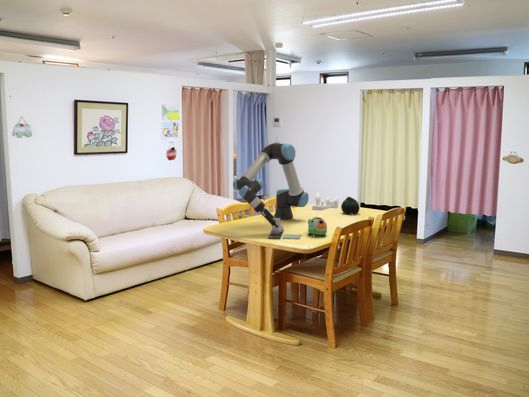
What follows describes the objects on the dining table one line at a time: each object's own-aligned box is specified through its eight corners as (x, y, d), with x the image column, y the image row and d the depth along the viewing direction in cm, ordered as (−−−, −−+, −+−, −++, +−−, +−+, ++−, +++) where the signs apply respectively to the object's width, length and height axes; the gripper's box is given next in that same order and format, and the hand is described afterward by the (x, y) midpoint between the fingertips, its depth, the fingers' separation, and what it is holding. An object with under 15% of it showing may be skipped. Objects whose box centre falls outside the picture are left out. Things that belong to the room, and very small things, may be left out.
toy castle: (311, 209, 427) (311, 191, 425) (325, 206, 447) (325, 188, 445) (325, 211, 419) (326, 193, 416) (339, 207, 439) (340, 189, 436)
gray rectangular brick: (272, 235, 329) (272, 219, 327) (272, 233, 334) (273, 217, 332) (279, 235, 328) (279, 219, 327) (280, 234, 333) (280, 218, 331)
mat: (283, 238, 319) (283, 237, 319) (284, 234, 330) (284, 234, 330) (299, 239, 318) (299, 238, 318) (300, 235, 329) (300, 234, 329)
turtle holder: (317, 231, 343) (317, 214, 341) (330, 236, 326) (331, 219, 324) (301, 232, 338) (301, 215, 336) (314, 238, 321) (314, 220, 319)
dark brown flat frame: (272, 230, 344) (272, 228, 344) (283, 230, 343) (283, 229, 343) (268, 238, 319) (268, 237, 319) (280, 239, 318) (280, 237, 318)
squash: (359, 209, 398) (359, 194, 406) (341, 209, 400) (341, 194, 408) (359, 218, 409) (359, 203, 417) (341, 218, 412) (341, 203, 420)
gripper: (255, 206, 339) (279, 230, 340) (251, 211, 321) (276, 236, 322) (263, 199, 338) (286, 223, 338) (259, 203, 320) (284, 228, 320)
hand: (281, 229), depth 330 cm, fingers closed on gray rectangular brick, 5 cm apart
